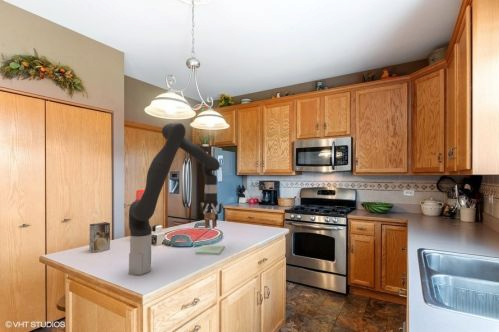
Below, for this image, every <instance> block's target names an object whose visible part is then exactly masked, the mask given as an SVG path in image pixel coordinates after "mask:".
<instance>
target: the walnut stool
mask: <svg viewBox="0 0 499 332" xmlns="http://www.w3.org/2000/svg"><path fill="white" fill-rule="evenodd" d="M210 221H211V223H212V224H211V225H210ZM217 221H218V220H217ZM217 221H215V212H207V213H206V214H205V220H204V228H205V229H208V227H210V226H211V228H212V229H215V228H216V227H217V224H218V223H217Z"/></svg>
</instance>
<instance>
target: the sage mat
mask: <svg viewBox="0 0 499 332" xmlns="http://www.w3.org/2000/svg"><path fill="white" fill-rule="evenodd" d="M225 248H226V247H225V245H212V244H209V245H208V244H202V245H201V246H200V247H199V248H198V249H197V250H196V251H195V254H194V255H208V254H215V255H216V256H219V254H220V255H221V253H222V252H223V251H222V250H225ZM215 255H214V256H215Z"/></svg>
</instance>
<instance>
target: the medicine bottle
mask: <svg viewBox="0 0 499 332" xmlns="http://www.w3.org/2000/svg"><path fill="white" fill-rule="evenodd" d="M151 229H152V237H151V246H154V247H155V246H156V247H157V246H160V245H163V244H162V242H163V240H164V239H165V240H166V232H164V231H163V225H161V224H155V225H153V226H152V227H151Z"/></svg>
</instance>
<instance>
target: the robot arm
mask: <svg viewBox="0 0 499 332" xmlns="http://www.w3.org/2000/svg"><path fill="white" fill-rule="evenodd" d="M161 134H162V136H163V138H164V139H166V141H165V144H164V145H163V147H162V148H161V149H160V150H159V151H158V153H157V154H155V156H154V157H153V158H152V161H151V164H150V166H149V167H148V170H147V173H146V183H145V188H144V190H145V191H144V193H143V195H142V197H141V199H140V200H136V199H135V200H136V201H135V200H134V201H133V202H132V203H131V204H130V206H129V209H128V228H129V231H130V236H129V237H130V238H129V240H130V241H129V244H130V245H129V254H128V256H129V257H128V275H130V276H131V275H133V276H134V275H135V276H142V275H145V274H148V273H149V272H151V270H152V245H151V237H152V233H153V232H152V227H151V224H150V219H151V218H152V217H153V216H154V213H155V211H156V207H157V204H158V201H159V197H160V194H161V191H162V190H163V187H164V185H165V182H166V179H167V177H168V175H169V172H170V169H171V166H172V165H173V163H174V160H175V158H176V154H177V152H178V150H179V148H180V149H182V150H183V151H185V152H186V153H187V154H188V155H190V156H191V157H192V158H193V159H195V161H197V162H198V163H200V164H202V170H203V175H204V178H205V180H204V181H205V184H204V202H200V203H199V205H198V206H199V212H200V213H201V214H202V215H203V220H204V221H205V214H206V213H208V210H213V212H214V213H215V221H218V220H219V215H220V214H221V213H222V209H223V202H218V177H217V175H216V174H214V173H213V172H214V171H215V172H216V171H219V169H220V167H221V164H220V161H219V160H218V158H216V157H214V156H213V155H211V154H209V153H207V151H205V150H204V149H203V148H202V147H201V146H199V145H198V144H196V143H194V142H192V141H190V140H189V139H187V138H186V137H185V136H186V127H185V125H184V124H183V123H180V122H172V123H167V124H165V125H164V126H163V127H162V128H161ZM204 206H205V208H204ZM217 206H218V207H217Z"/></svg>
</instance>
